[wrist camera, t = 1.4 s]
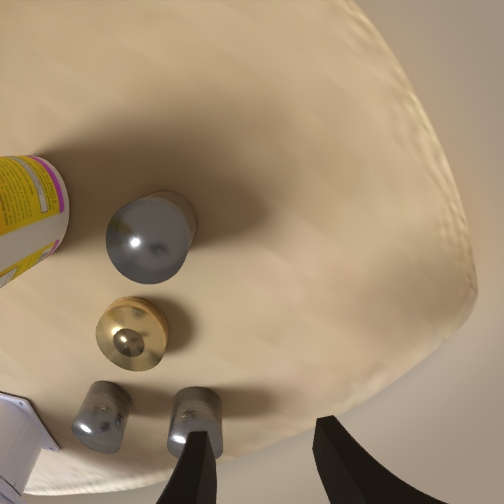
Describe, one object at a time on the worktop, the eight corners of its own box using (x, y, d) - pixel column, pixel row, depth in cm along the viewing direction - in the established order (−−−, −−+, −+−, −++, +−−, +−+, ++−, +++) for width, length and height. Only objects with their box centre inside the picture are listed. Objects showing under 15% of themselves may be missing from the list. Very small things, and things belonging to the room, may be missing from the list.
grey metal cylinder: (139, 256, 16) (114, 286, 12) (131, 194, 15) (100, 205, 11) (199, 251, 17) (192, 281, 12) (193, 187, 16) (182, 195, 11)
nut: (115, 353, 18) (106, 371, 16) (98, 297, 17) (86, 311, 15) (174, 353, 19) (170, 372, 17) (162, 293, 17) (155, 309, 15)
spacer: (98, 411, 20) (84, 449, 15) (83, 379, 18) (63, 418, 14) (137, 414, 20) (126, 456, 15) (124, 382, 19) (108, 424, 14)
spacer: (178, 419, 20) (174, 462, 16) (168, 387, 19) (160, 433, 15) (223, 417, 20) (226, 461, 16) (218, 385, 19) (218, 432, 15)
